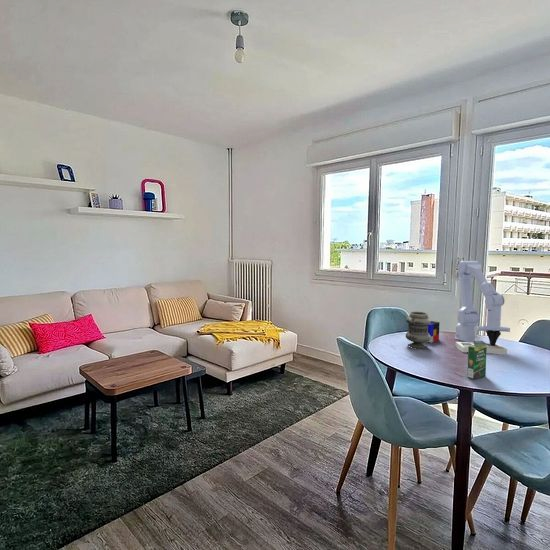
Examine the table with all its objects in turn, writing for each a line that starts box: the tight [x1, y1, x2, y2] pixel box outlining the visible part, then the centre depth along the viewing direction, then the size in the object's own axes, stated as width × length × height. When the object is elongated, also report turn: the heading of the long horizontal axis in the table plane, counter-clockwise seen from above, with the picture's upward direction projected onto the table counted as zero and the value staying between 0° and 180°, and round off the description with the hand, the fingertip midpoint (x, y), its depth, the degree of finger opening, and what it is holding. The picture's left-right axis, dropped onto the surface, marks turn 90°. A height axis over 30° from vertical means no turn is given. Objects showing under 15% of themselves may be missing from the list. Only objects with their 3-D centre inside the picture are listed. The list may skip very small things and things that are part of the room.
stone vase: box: [405, 310, 432, 350], centre depth 183 cm, size 12×12×18 cm
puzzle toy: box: [427, 320, 441, 343], centre depth 198 cm, size 10×10×10 cm
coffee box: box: [466, 343, 487, 380], centre depth 141 cm, size 8×3×13 cm, turn 117°
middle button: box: [473, 340, 487, 345], centre depth 179 cm, size 4×4×2 cm
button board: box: [455, 341, 508, 355], centre depth 178 cm, size 20×10×3 cm, turn 81°
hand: (492, 345), depth 178 cm, fingers closed, pressing on right button
